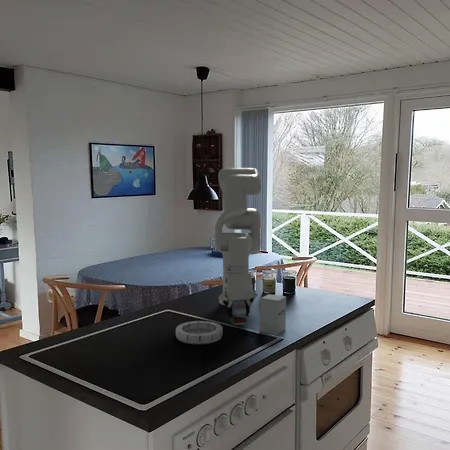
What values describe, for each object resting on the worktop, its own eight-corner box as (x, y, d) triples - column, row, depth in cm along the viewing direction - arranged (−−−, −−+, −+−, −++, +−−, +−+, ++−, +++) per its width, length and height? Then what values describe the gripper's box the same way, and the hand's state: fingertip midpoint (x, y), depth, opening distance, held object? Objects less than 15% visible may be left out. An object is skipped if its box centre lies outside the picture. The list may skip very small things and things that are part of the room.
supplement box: (277, 335, 162) (278, 300, 161) (258, 331, 166) (259, 297, 164) (286, 329, 168) (286, 296, 167) (268, 326, 172) (268, 293, 171)
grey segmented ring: (171, 331, 165) (171, 323, 165) (213, 327, 171) (213, 319, 170) (182, 346, 150) (182, 337, 150) (228, 341, 156) (228, 332, 155)
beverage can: (235, 327, 168) (235, 295, 166) (226, 322, 174) (226, 291, 173) (250, 325, 171) (250, 293, 169) (240, 319, 177) (240, 289, 176)
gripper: (219, 272, 164) (219, 321, 166) (263, 269, 169) (263, 316, 172) (213, 268, 171) (213, 315, 173) (255, 265, 176) (255, 310, 179)
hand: (238, 315), depth 172 cm, fingers closed on beverage can, 6 cm apart
